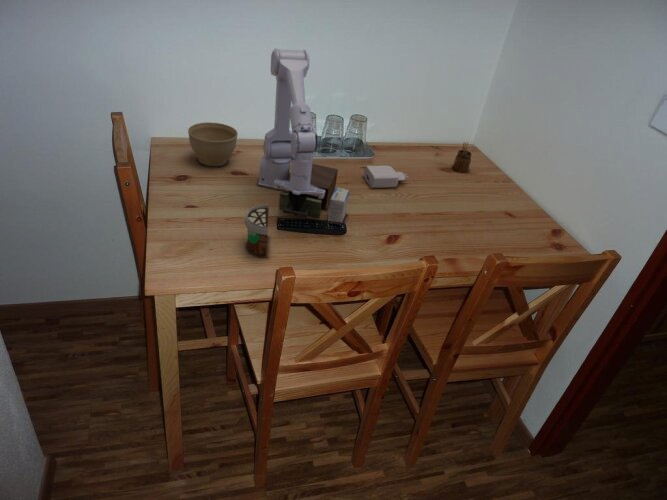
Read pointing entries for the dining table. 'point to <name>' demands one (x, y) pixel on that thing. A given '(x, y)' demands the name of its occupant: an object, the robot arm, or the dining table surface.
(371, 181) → the charger
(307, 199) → the drawer
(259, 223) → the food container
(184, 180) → the dining table surface
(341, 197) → the medicine box
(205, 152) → the planter bowl
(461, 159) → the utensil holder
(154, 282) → the dining table surface
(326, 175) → the cabinet
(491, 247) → the dining table surface
